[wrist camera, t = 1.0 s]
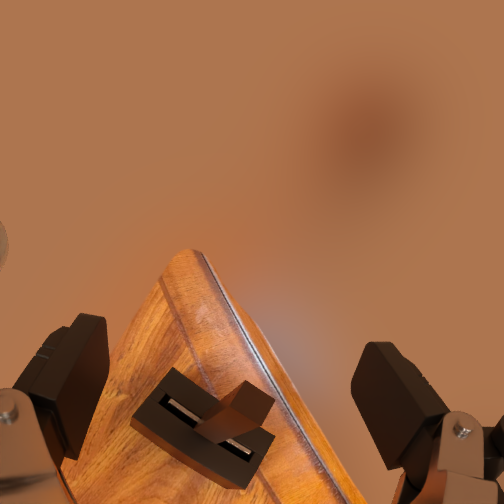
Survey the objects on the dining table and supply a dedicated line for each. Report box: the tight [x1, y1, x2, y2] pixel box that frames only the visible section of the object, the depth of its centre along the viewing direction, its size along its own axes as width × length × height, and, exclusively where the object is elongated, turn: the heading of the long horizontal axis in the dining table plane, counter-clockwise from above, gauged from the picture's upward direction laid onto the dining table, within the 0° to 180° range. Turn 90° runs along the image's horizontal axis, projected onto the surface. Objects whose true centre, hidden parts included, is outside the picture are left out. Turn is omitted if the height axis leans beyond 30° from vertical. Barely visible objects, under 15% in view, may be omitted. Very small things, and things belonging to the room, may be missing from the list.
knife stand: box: [130, 367, 275, 490], centre depth 25 cm, size 6×11×5 cm, turn 61°
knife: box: [165, 380, 275, 457], centre depth 22 cm, size 2×8×15 cm, turn 61°
